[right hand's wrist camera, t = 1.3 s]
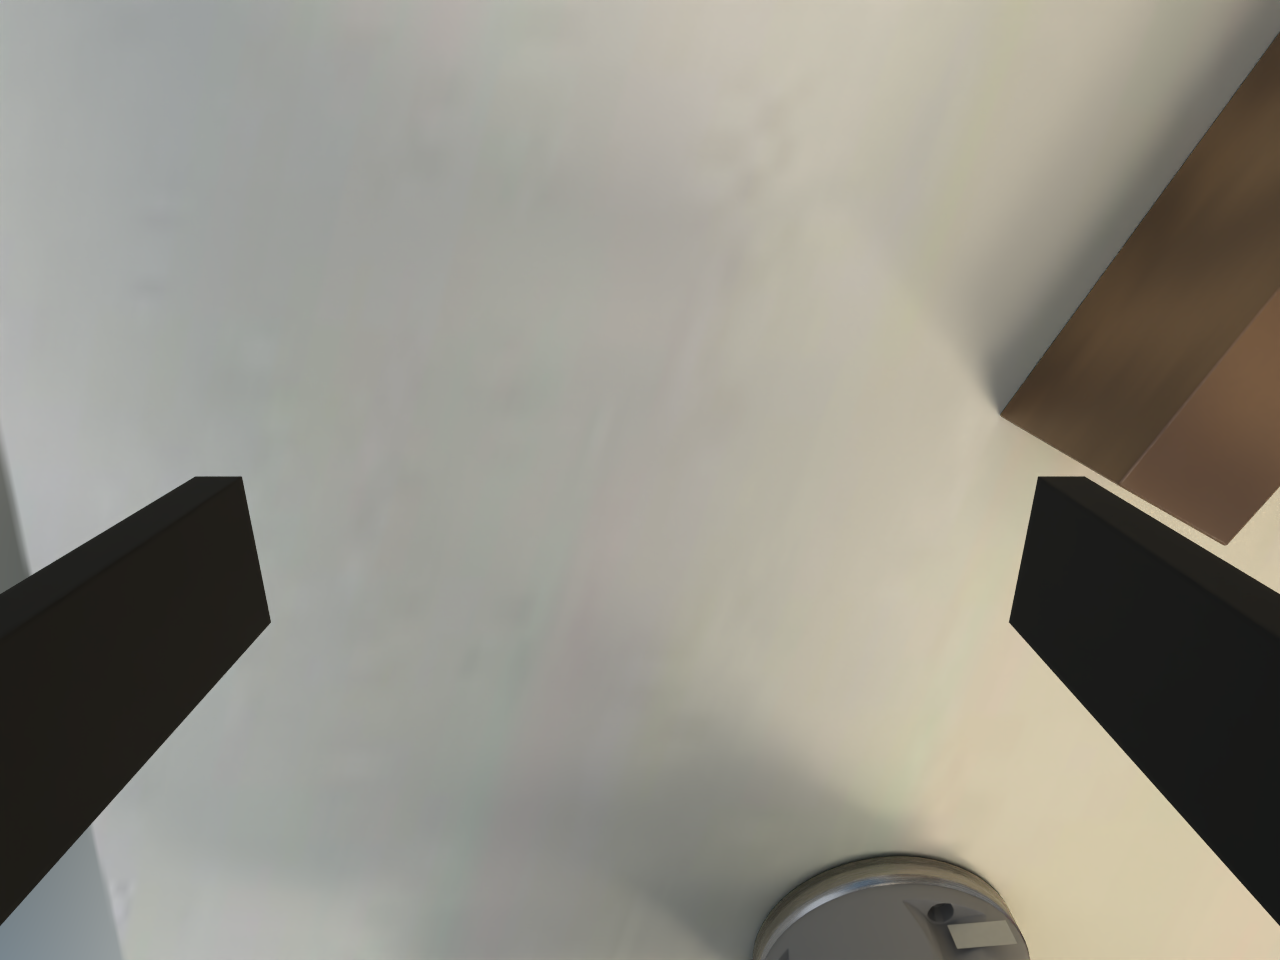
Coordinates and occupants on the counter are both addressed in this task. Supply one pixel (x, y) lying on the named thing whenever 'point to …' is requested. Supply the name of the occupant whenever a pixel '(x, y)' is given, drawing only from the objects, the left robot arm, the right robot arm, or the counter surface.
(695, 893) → the counter surface
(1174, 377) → the bar
